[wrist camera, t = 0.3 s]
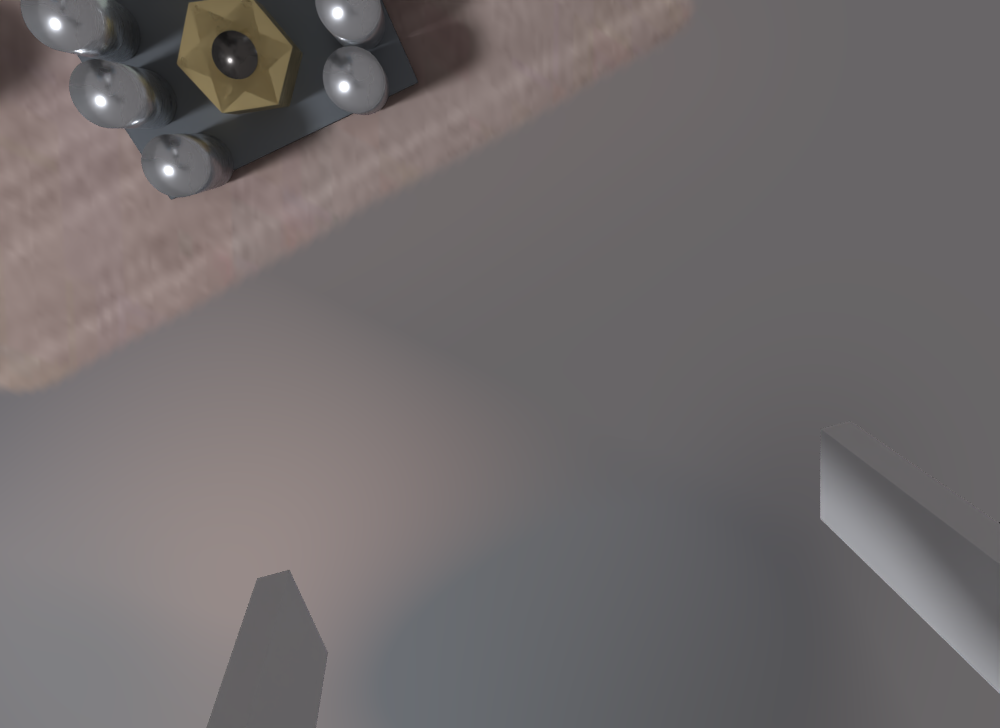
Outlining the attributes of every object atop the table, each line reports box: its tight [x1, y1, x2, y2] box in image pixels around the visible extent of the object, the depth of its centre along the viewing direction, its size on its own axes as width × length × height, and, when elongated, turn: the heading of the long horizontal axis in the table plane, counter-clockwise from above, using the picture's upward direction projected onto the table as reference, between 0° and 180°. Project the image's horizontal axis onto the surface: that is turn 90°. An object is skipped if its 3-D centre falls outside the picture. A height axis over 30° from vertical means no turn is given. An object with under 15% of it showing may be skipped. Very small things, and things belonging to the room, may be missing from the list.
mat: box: [78, 0, 418, 199], centre depth 32 cm, size 15×16×1 cm
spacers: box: [21, 0, 389, 197], centre depth 31 cm, size 10×15×5 cm
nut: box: [177, 0, 303, 114], centre depth 32 cm, size 6×5×3 cm
